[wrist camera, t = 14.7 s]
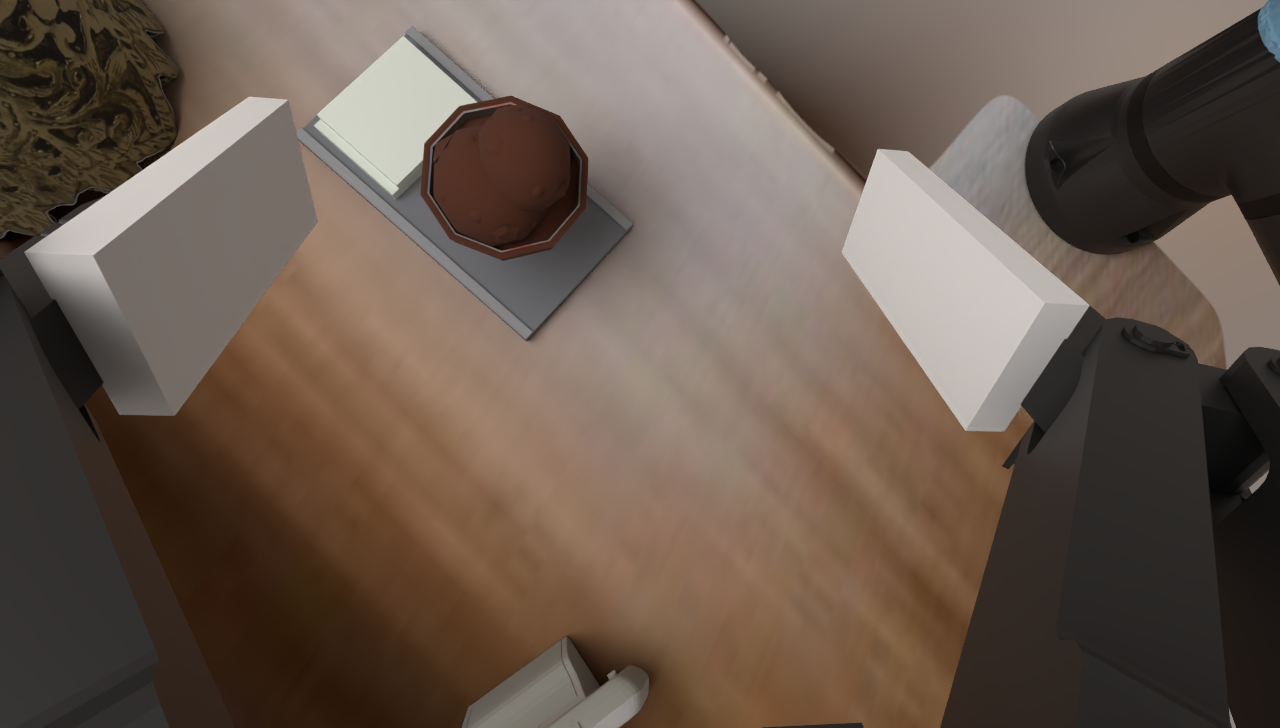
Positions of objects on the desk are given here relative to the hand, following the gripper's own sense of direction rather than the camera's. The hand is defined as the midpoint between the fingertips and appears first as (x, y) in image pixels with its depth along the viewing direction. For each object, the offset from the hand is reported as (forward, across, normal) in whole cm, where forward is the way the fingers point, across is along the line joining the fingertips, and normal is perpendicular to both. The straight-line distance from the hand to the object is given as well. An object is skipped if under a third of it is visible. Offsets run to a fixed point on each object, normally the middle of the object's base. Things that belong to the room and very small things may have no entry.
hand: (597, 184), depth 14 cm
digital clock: (+6, -1, -45) cm, 45 cm away
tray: (+35, -8, -15) cm, 39 cm away
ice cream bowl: (+32, -5, -17) cm, 37 cm away
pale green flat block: (+38, -14, -12) cm, 43 cm away
